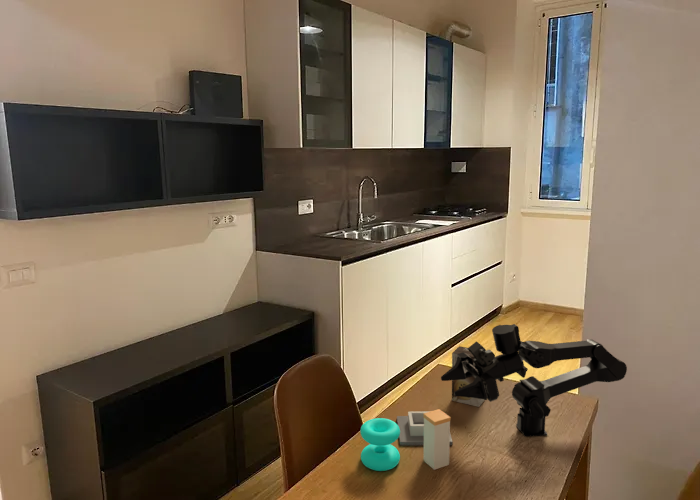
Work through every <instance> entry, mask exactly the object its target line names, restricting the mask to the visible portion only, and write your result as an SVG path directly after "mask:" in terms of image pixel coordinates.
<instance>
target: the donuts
mask: <svg viewBox="0 0 700 500" xmlns="http://www.w3.org/2000/svg"><path fill="white" fill-rule="evenodd" d="M359 432H360V436H361V438H362V439H363V440H364V441H365V442H366V443H368V445H366V446H365V447H364V448H363V449H362V451H361V453H360V459H361V463H362V464H363V465H364V466H365V467H366V468H367V469H370V470H372V471H377V472H384V471H390V470H392V469H394V468H395V467H396V466H398V464H399V463H400V460H401V455H400V452H399V450H398V449H397V447H396V446H394V445H393V443H394V442H396V441H398V439H399V435H400V428H399V426H398V424H397V422H395V421H394V420H391V419H389V418H383V417H377V418H371V419H368V420H366V421H365V422H364V423H363V424H362V425H361V427H360V431H359Z"/></svg>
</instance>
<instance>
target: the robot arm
mask: <svg viewBox="0 0 700 500" xmlns="http://www.w3.org/2000/svg"><path fill="white" fill-rule="evenodd" d="M519 329H520V327H519V325H516V324H515V323H512V324H498V325H496V326H494V327H493V328H492V336H493V341H494V344H495V349H496V351H497V352H499V353H500V354H499V355H495V353H494V352H493V351H492V350H491V349H486V348H485V347H484V346H483V345H482V344H481V343H479V342H478V341H475V342H474V343H472V345H470V346H468V347H467V349H468V350H469V352H471V353H472V355H473V356H474V358H475V359H473V361H474V364H475V366H474V365H473V361H472V358H471V357H470V356H469V355H468V354H466V353H464V352H462V353H459V354H457V358H456V360H457V361H456V363H455V365H454V366H453V367H452V366H451V368H450V369H448V371H446V372H445V373H443V374H442V375H441V376H440V380H441V382H442V381H443V382H445V381H447V382H449V381H452V380H462V379H466V377H472V376H474V377H475V380H474V381H473V382H472V383H471V384H468V385H466V386H464V387H462V388H460V389H458V390H456V391H455V392H454V394H455V396H461V397H471V398H478V399H484V401H489V402H490V403H492V402H494V401H496V400H498V399H499V396H500V391H499V388H498V383H497V381H499V382H500V383H501V382H503V381H504V378H505V377H508V376H510V375H513V374H517V375H519V376H520V377H521V378H523V379H519V382H517V383H515V384H514V387H513V388H512V391H511V396H512V398H513V399H514V401H516V404H517V405H518V406H520V407H519V412H518V413H517V421H516V424H515V426H516V427H517V429H518V430H519V432H521V433H522V435H523V436H524V437H527V438H528V437H530V438H531V437H543V436H544V437H545V436H548V432H547V431H546V417H549V415H550V413H551V410H552V409H551V408H550V407H549V406H548V405H547V404H548V402H549V401H550V400H551V399H552V398H554V397H557V396H561V395H563V394H565V393H568V392H571V391H573V390H576V389H579V388H582V387H585V386H588V385H590V384H593V383H596V382H598V383H601V382H602V383H603V382H604V383H614V382H619V381H621V380H623V379H624V378H625V377H626V375H627V371H628V366H627V364H626V363H625V361H622V360H620V359H619V358H617V357H615V356H614V355H613V354H611V352H609V350H607V349H606V347H604V345H603V344H602V343H600V342H598V341H596V340H594V339H592V338H591V339H586V340H580V341H570V342H557V343H555V342H554V343H547V342H543V341H536V340H525V341H522V340H521V337H520V330H519ZM588 358H590V361H589V362H588V364H586V365H584V366H582V367H579V368H576V369H573V370H570V371H566V372H565V373H561V374H558V375H556V376H553V377H549V378H546V379H545V380H538V378H536V377H535V376H532V375H531V376H529V377H527V378H525V377H526V374H527V372H528V370H529V369H528V368H527V367H526V366H525V364H524V363H527V365H528V366H530V367H532V368H533V369H541V368H545V367H549V366H550V365H552V364H553V363H555V362H559V361H568V360H577V359H588Z"/></svg>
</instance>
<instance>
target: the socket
mask: <svg viewBox="0 0 700 500" xmlns="http://www.w3.org/2000/svg"><path fill="white" fill-rule="evenodd" d="M430 411H431V410H430ZM430 411H429V410H428V411H424V410H423V411H422V410H421V411H408V412H407V415H396V424H397V425H398V426H399V428H400V435H399V437H398V439H399V446H424V417H423V413H427V412H430ZM453 443H454V442H453V439H452V435H451V434H450V446H453Z"/></svg>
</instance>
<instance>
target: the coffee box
mask: <svg viewBox="0 0 700 500" xmlns="http://www.w3.org/2000/svg"><path fill="white" fill-rule="evenodd" d="M467 348H468V347H467V346H466V347H465V346H460V345H459V346H458V347H457V348H456V349H454V351H453V352H452V353H451V368H452V367H453V366H454V365H455V363H456V361H457V360H456V358H457V354H459V353H462V352H464V353H466V354H468V355H469V356H470V357H471V358H472V361H473V359H475V358H474V356H473V355H472V353H471V352H469V350H468V349H467ZM473 365H474V366H475V364H474V361H473ZM474 380H475V377H474V376H472V377H466V379H462V380H451V401H453V402H456V403H461V404H465V405H469V406H474V407H478V408H480V407H481V405H482V404H483V403H484V402H485V400H484V399H478V398H471V397H461V396H455V394H454V392H455V391H456V390H458V389H460V388H462V387H464V386H466V385H468V384H471V383H472V382H473V381H474Z"/></svg>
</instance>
